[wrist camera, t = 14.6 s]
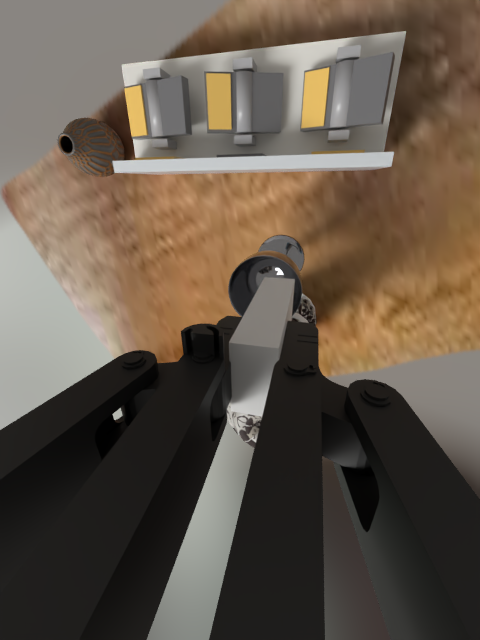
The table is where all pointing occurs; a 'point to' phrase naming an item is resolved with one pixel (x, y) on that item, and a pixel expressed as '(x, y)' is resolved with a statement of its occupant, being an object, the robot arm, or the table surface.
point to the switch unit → (290, 144)
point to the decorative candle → (250, 424)
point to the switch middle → (243, 102)
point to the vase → (91, 146)
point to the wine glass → (267, 271)
